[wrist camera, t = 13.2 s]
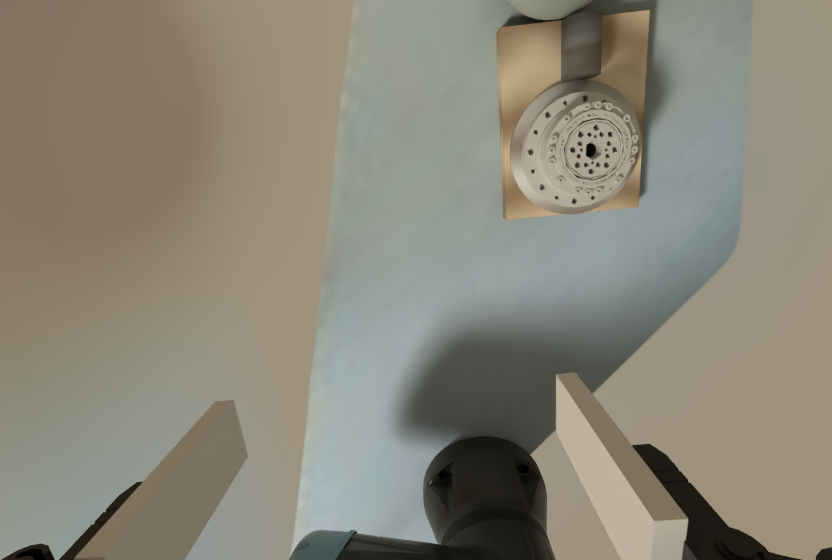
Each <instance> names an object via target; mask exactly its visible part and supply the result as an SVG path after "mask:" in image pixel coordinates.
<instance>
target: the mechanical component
mask: <svg viewBox="0 0 832 560" xmlns="http://www.w3.org/2000/svg"><path fill="white" fill-rule="evenodd" d="M583 99H584V101H583ZM545 114H547V116H548V117H547V118H546V117H545ZM534 132H535V134H534ZM638 139H639V138H638V135H636V132H635V128H634V126H633V123H632V121H631V119H630V115H628V114H627V112H626V111H625V109H624V108H623V107H622V106H621V105H620V104H619V103H618V102H617V101H615V100H613V99H612V98H610V97H608V96H606V95H603V94H600V93H597V92H585V91H584V92H578V93H572V94H569V95H567V96H564V97H562V98H560V99H557V100H556V101H554V102H552V103H551V104H549V105H548V106H546V107H545V108H544V109H543V110H542V111H541V112H540V113H539V114H538V115H537V116H536V117H535V119H534V120H533V122H532V123H531V125H530V126H529V128H528V131H527V133H526V136H525V138H524V141H523V148H522V158H521V160H522V165H523V171H524V174H525V176H526V179H527V181H528V183H529V185H530V186H531V187H532V188H533V190H534V191H535V192H536V193H537V194H538V195H539V196H540V197H542V198H543V199H545V200H546V201H548V202H551V203H553V204H555V205H559V206H564V207H581V206H588V205H591V204H593V203H595V202H598V201H600V200H602V199H604V198H606V197H607V196H608V195H609V194H610V193H612V192H613V191H614V190H615V189H616V188H617V187H618V186H620V184H621V183H622V181H623V180H624V178H625V177H626V175H627V173H628V172H629V170H630V168H631V164H634V163H635V155H636V152H638V147H637V140H638ZM590 143H592V144H593V149H594V150H591V151H588V154H593V156H590V157H587V156H588V154H587V150H588V146H586V145H587V144H590ZM528 150H530V155H529V153H528V152H527V151H528ZM531 170H532V173H531ZM540 185H541V186H542V188H541V189H540V188H539V186H540ZM554 196H556V197H554ZM572 200H573V202H572ZM571 202H572V203H571Z"/></svg>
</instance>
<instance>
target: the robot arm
mask: <svg viewBox="0 0 832 560" xmlns="http://www.w3.org/2000/svg"><path fill="white" fill-rule="evenodd" d="M556 434H557V436H558V438H559V440H560V442H561V443H562V446H563V447H564V449H565V451H566V453H567V455H568V457H569V459H570V461H571V463H572V465H573V467H574V469H575V471H576V473H577V475H578V477H579V479H580V481H581V482H582V484H583V486H584V488H585V490H586V492H587V494H588V496H589V498H590V500H591V502H592V504H593V506H594V508H595V510H596V512H597V513H598V515H599V517H600V519H601V521H602V523H603V525H604V527H605V529H606V530H607V533H608V535H609V536H610V539H611V541H612V543H613V544H614V546H615V548H616V550H617V552H618V554H619V556H620V558H621V560H801V559H796V558H791V557H787V556H782V555H778V554H774V553H771V552H768V551H767V549H766V548H765V547H764V546H763V545H761V544H760V543H759V542H758V541H757V540H755V539H754V538H753V537H751V536H749V535H747V534H745V533H743V532H741V531H740V530H737V529H734V528H730V527H728V526H727V524H726V523H725V522H724V521H723V520H722V519H721V517H720V516H719V515H718V514H717V513H716V512H715V511H714V509H713V508H712V507H711V506H710V505H709V504H708V502H707V501H706V500H705V499H704V498H703V497H702V496H701V494H700V493H699V492H698V491H697V490H696V489H695V488H694V486H693V485H692V484H691V483H689V482H688V479H687V478H686V477H685V476H684V475H683V474H682V472H680V471H679V470H678V468H677V467H676V466H675V464H674V463H673V462H672V461H671V460H670V459H669V458H668V456H667V455H666V454H664V453H663V452H661V451H659V450H658V449H657V448H655V447H653V446H652V445H650V444H643V445H631V444H630V443H629V442H628V440H627V439H626V437H625V436H624V435H623V434H622V432H621V431H620V430H619V428H618V427H617V426H616V424H615V423H614V422H613V421H612V419H611V418H610V417H609V415H608V414H607V413H606V411H605V410H604V409H603V408H602V406H601V405H600V404H599V402H598V401H597V400H596V398H595V397H594V396H593V395H592V393H591V392H590V391H589V389H588V388H587V387H586V385H585V384H584V383H583V382H582V380H581V379H580V378H579V376H578V375H577V374H576V373H564V374H556ZM247 457H248V454H247V450H246V446H245V442H244V439H243V435H242V431H241V427H240V423H239V419H238V416H237V412H236V408H235V404H234V401H233V400H229V401H217V402H215V403H214V404H213V405H212V406H211V407H210V408H209V409H208V410H207V411H206V413H205V414H204V415H203V416H202V417H201V418H200V419H199V420H198V421H197V423H196V424H195V425H194V426H193V427H192V428H191V429H190V430H189V432H187V434H186V435H185V436H184V437H183V438H182V439H181V440H180V442H179V443H178V444H177V445H176V446H175V447H174V448H173V449H172V450H171V451H170V453H169V454H168V455H167V456H166V457H165V458H164V459H163V460H162V461H161V462H160V464H159V465H158V466H157V467H156V468H155V469H154V470H153V471H152V472H151V474H150V475H149V476H148V477H147V478H146V479H145V480H144V481H143V482H137V483H135V484H134V485H133V486H131V487H130V488H129V489H127V490H126V491H125V492H123V493H122V494H120V495H119V496H118V497H117V498H116V499H115V501H114V502H113V503H112V504H111V505H110V506H109V507H108V508H107V509H106V512H103V513H102V514H101V515H100V517H99V518H98V519H97V520H96V521H95V524H94V525H91V526H90V527H89V528H88V529H87V530H86V532H85V533H84V534H83V535H82V536H81V537H80V538H79V539H78V540H77V541H76V542H75V543H74V544H73V545H72V547H71V548H70V549H69V550H68V551H67V552H66V553H65V554H64V555H63V556H62V557H61V558H60V559H59V560H185V558H186V557H187V555H188V553H189V552H190V550H191V548H192V547H193V545H194V543H195V542H196V540H197V539H198V537H199V535H200V534H201V532H202V530H203V528H204V527H205V526H206V524H207V522H208V521H209V519H210V517H211V516H212V514H213V512H214V511H215V509H216V508H217V506H218V504H219V503H220V501H221V499H222V498H223V496H224V495H225V493H226V491H227V490H228V488H229V486H230V485H231V483H232V481H233V480H234V478H235V476H236V475H237V473H238V471H239V470H240V468H241V467H242V465H243V464H244V462H245V460H246V459H247ZM423 500H424V508H425V512H426V515H427V518H428V520H429V523H430V525H431V528H432V530H433V533H434V535H435V538H436V540H437V543H438V544H433V543H426V542H418V541H410V540H402V539H394V538H386V537H378V536H371V535H364V534H357V531H356V530H351V531H349V532H342V531H328V530H317V531H314V532H311V533H309V534H308V535H307V536H305V537H304V538H303V539H302V540H301V541H300V543H299V544H298V545H297V546H296V548H295V550H294V551H293V553H292V555H291V557H290V558H289V560H556V559H555V557H554V554H553V551H552V549H551V546H550V543H549V540H548V537H547V495H546V488H545V484H544V481H543V478H542V476H541V473H540V471H539V468H538V467H537V464H536V462H535V461H534V460H533V458H532V457H531V456H530V455H529V454H528V453H527V452H526V451H525V450H523V449H522V448H521V447H519V446H517V445H515V444H513V443H511V442H509V441H506V440H502V439H498V438H490V437H479V438H471V439H467V440H463V441H460V442H457V443H455V444H453V445H451V446H449V447H448V448H446V449H445V450H443V451H442V452H441V453H440V454H438V455H437V456H436V457H435V459H434V460H433V461H432V462H431V464H430V466H429V467H428V469H427V472H426V474H425V478H424V484H423ZM2 560H55V559H54V557H53V555H52V553H51V551H50V549H49V546H48V545H44V544H37V545H30V546H28V547H25V548H23V549H20V550H18V551H16V552H14V553H12V554H10V555H9V556H7V557H5V558H3V559H2ZM816 560H832V548H826V549H822V550H821V551H820V552H819V553H818V555H817V556H816Z"/></svg>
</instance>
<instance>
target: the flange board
mask: <svg viewBox="0 0 832 560" xmlns="http://www.w3.org/2000/svg"><path fill="white" fill-rule="evenodd" d="M649 15H650V10H644V11H636V12H627V13H619V14H610V15H603V12H602V11H600V10H588V11H583V12H579V13H576V14H573V15H570V16H568V17H566V18H565V19H563V20H559V21H551V22H542V23H534V24H525V25H517V26H508V27H500V28H499V30H498V32H497V56H498V83H499V110H500V137H501V164H502V191H503V218H504V219H506V220H510V219H520V218H530V217H541V216H551V215H561V214H578V213H583V212H592V211H603V210H613V209H623V208H633V207H639V189H640V172H641V155H642V137H643V120H644V102H645V85H646V67H647V50H648V32H649ZM584 91H585V92H597V93H600V94H603V95H606V96H608V97H610V98H612V99H613V100H615V101H617V102H618V103H619V104H620V105H621V106H622V107H623V108H624V109H625V111H626V112H627V114H628V115H630V119H631V121H632V123H633V126H634V128H635V132H636V135H638V138H639V139H638V140H637V147H638V152H636V155H635V163H634V164H631V168H630V170H629V172H628V173H627V175H626V177H625V178H624V180H623V181H622V183H621V184H620V186H618V187H617V188H616V189H615V190H614V191H613V192H612V193H610V194H609V195H608V196H607V197H606V198H604V199H602V200H600V201H598V202H595V203H593V204H591V205H588V206H581V207H564V206H559V205H555V204H553V203H551V202H548V201H546V200H545V199H543V198H542V197H540V196H539V195H538V194H537V193H536V192H535V191H534V190H533V188H532V187H531V186H530V185H529V183H528V181H527V179H526V176H525V174H524V171H523V165H522V160H521V158H522V148H523V141H524V138H525V136H526V133H527V131H528V128H529V126H530V125H531V123H532V122H533V120H534V119H535V117H536V116H537V115H538V114H539V113H540V112H541V111H542V110H543V109H544V108H545V107H546V106H548V105H549V104H551V103H552V102H554V101H556V100H557V99H560V98H562V97H564V96H567V95H569V94H572V93H578V92H584ZM583 101H584V99H583ZM545 117H546V118H547V117H548V116H547V114H545ZM534 134H535V132H534ZM586 146H588V150H587V154H588V151H591V150H594V149H593V144H592V143H590V144H587V145H586ZM527 152H528V153H529V155H530V150H528V151H527ZM590 156H593V154H588V156H587V157H590ZM531 173H532V170H531ZM539 188H540V189H541V188H542V186H541V185H540V186H539ZM554 197H556V196H554ZM572 202H573V200H572ZM572 202H571V203H572Z"/></svg>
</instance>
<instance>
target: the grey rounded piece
mask: <svg viewBox="0 0 832 560" xmlns="http://www.w3.org/2000/svg"><path fill="white" fill-rule="evenodd" d="M506 1H507V3H508V4H509V5H510V6H512V7H513V8H514V9H515V10H516V11H518V12H520V13H522V14H523V15H525V16H528V17H531V18H534V19H540V20H556V19H560V18H564V17H568V16H570V15H572V14H574V13H577V12H579V11H580V10H582V9H583V8H585V7H586V6H588V5H589V4H590V3H592V2H593V1H594V0H506Z"/></svg>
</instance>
